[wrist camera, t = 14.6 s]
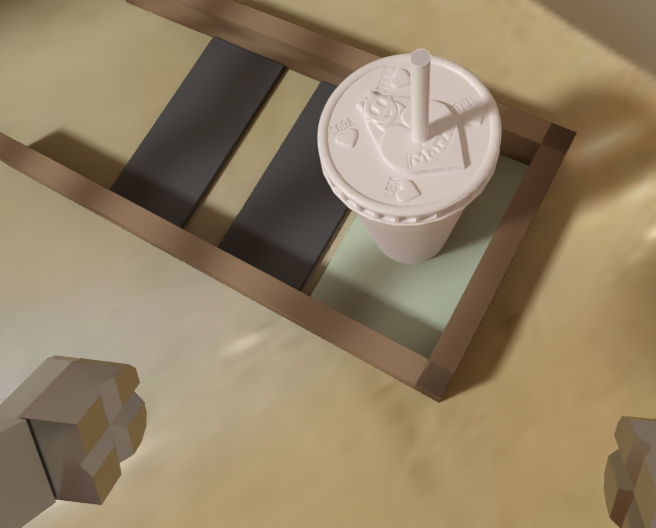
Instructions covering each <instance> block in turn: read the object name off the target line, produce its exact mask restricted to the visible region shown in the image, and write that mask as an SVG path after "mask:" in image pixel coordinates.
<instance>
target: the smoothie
mask: <svg viewBox="0 0 656 528" xmlns="http://www.w3.org/2000/svg"><path fill="white" fill-rule="evenodd" d="M501 135H502V127H501V118H500V114H499V110H498V107H497V105H496V102H495V100H494V98H493V96H492V94H491V93H490V91H489V90H488V88H487V87H486V86H485V85H484V83H483V82H482V81H481V80H480V79H479V78H478V77H477V76H476V75H474V74H473V73H472V72H471V71H469V70H468V69H466V68H465V67H463V66H461V65H460V64H458V63H456V62H453V61H451V60H449V59H446V58H442V57H439V56H435V55H430V53H429V52H428V51H427V50H425V49H417V50H415V51H413V52H412V53H408V54H398V55H393V56H388V57H385V58H381V59H378V60H376V61H373V62H371V63H369V64H367V65H365V66H363V67H361V68H359V69H358V70H356V71H355V72H353V73H352V74H351V75H349V76H348V77H347V78H346V79H345V80H344V81H343V82H342V83H341V84H340V85H339V86H338V87H337V88H336V89H335V91H334V92H333V93H332V95H331V96H330V98H329V99H328V101H327V103H326V105H325V107H324V109H323V112H322V114H321V118H320V121H319V126H318V135H317V136H318V151H319V156H320V161H321V165H322V170H323V174H324V176H325V178H326V180H327V182H328V183H329V185H330V187H331V189H332V191H333V192H334V194H335V195H336V196H337V197H338V198H339V199H340V200H341V201H342V202H343V203H344V204H345V205H346V206H347V207H348V208H350V209H351V210H353V211H355V212H357V214H358V215H359V217H360V218H361V220H362V221H363V223H364V224H365V226H366V228H367V229H368V231H369V232H370V234H371V235H372V237H373V238H374V240H375V241H376V243H377V245H378V246H379V248H380V249H381V250H382V252H383V253H384V254H386V255H387V256H388V257H389V258H391V259H393V260H395V261H397V262H401V263H406V264H416V263H421V262H424V261H427V260H429V259H431V258H432V257H434V256H435V255H436V254H437V253H438V252H439V251H440V250H441V249H442V248H443V246H444V244H445V243H446V241H447V239H448V237H449V235H450V234H451V232H452V230H453V228H454V226H455V224H456V223H457V221H458V219H459V217H460V215H461V214H462V212H463V210H464V208H465V207H466V206H467V205H468V204H469V203H471V202H472V201H473V200H474V199H475V198H476V197H477V196H478V195H479V194H481V193H482V191H483V189H484V188H485V186H486V185H487V183H488V181H489V180H490V178H491V177H492V175H493V174H494V171H495V167H496V164H497V160H498V157H499V153H500V143H501Z"/></svg>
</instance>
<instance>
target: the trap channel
mask: <svg viewBox="0 0 656 528" xmlns="http://www.w3.org/2000/svg"><path fill="white" fill-rule="evenodd" d="M126 2H127V3H130V4H132V5H135V6H137V7H140V8H142V9H145V10H147V11H149V12H152V13H154V14H157V15H159V16H162V17H164V18H166V19H169V20H171V21H174V22H176V23H179V24H181V25H184V26H186V27H188V28H191V29H193V30H196V31H198V32H201V33H203V34H206V35H208V36H210V37H213V38H212V40H211V41H210V43H209V44H208V46H207V47H206V49H205V50H204V51H203V53H202V54H201V56H200V57H199V59H198V60H197V62H196V63H195V65H194V66H193V68H192V69H191V71H190V72H189V74H188V75H187V77H186V78H185V79H184V81H183V82H182V84H181V85H180V87H179V88H178V90H177V91H176V93H175V94H174V96H173V97H172V99H171V100H170V102H169V103H168V104H167V106H166V107H165V109H164V110H163V112H162V113H161V115H160V116H159V118H158V119H157V121H156V122H155V124H154V125H153V127H152V128H151V130H150V131H149V132H148V134H147V135H146V137H145V138H144V140H143V141H142V143H141V144H140V146H139V147H138V149H137V150H136V152H135V153H134V155H133V156H132V157H131V159H130V160H129V162H128V163H127V165H126V166H125V168H124V169H123V171H122V172H121V174H120V175H119V177H118V178H117V180H116V181H115V182H114V184H113V185H112V187H111V188H110V190H108V189H106V188H104V187H103V186H101V185H99V184H97V183H95V182H93V181H91V180H89V179H87V178H86V177H84V176H82V175H80V174H78V173H76V172H74V171H72V170H71V169H69V168H67V167H65V166H63V165H61V164H59V163H57V162H55V161H54V160H52V159H50V158H48V157H46V156H44V155H42V154H40V153H39V152H37V151H35V150H33V149H31V148H29V147H27V146H25V145H23V144H22V143H20V142H18V141H16V140H14V139H12V138H10V137H8V136H7V135H5V134H3V133H1V132H0V160H1V161H3V162H4V163H6V164H7V165H9V166H10V167H12V168H14V169H16V170H18V171H19V172H21V173H23V174H25V175H27V176H29V177H30V178H32V179H34V180H36V181H38V182H39V183H41V184H43V185H45V186H47V187H49V188H50V189H52V190H54V191H56V192H58V193H59V194H61V195H63V196H65V197H67V198H69V199H70V200H72V201H74V202H76V203H78V204H79V205H81V206H83V207H85V208H87V209H88V210H90V211H92V212H94V213H96V214H98V215H99V216H101V217H103V218H105V219H107V220H108V221H110V222H112V223H114V224H116V225H118V226H119V227H121V228H123V229H125V230H127V231H128V232H130V233H132V234H134V235H136V236H138V237H139V238H141V239H143V240H145V241H147V242H148V243H150V244H152V245H154V246H156V247H158V248H159V249H161V250H163V251H165V252H167V253H168V254H170V255H172V256H174V257H176V258H177V259H179V260H181V261H183V262H185V263H187V264H188V265H190V266H192V267H194V268H196V269H197V270H199V271H201V272H203V273H205V274H207V275H208V276H210V277H212V278H214V279H216V280H217V281H219V282H221V283H223V284H225V285H227V286H228V287H230V288H232V289H234V290H236V291H237V292H239V293H241V294H243V295H245V296H247V297H248V298H250V299H252V300H254V301H256V302H257V303H259V304H261V305H263V306H265V307H267V308H268V309H270V310H272V311H274V312H276V313H277V314H279V315H281V316H283V317H285V318H286V319H288V320H290V321H292V322H294V323H296V324H297V325H299V326H301V327H303V328H305V329H306V330H308V331H310V332H312V333H314V334H316V335H317V336H319V337H321V338H323V339H325V340H326V341H328V342H330V343H332V344H334V345H336V346H337V347H339V348H341V349H343V350H345V351H346V352H348V353H350V354H352V355H354V356H356V357H357V358H359V359H361V360H363V361H365V362H366V363H368V364H370V365H372V366H374V367H375V368H377V369H379V370H381V371H383V372H385V373H386V374H388V375H390V376H392V377H394V378H395V379H397V380H399V381H401V382H403V383H405V384H406V385H408V386H410V387H412V388H414V389H415V390H417V391H419V392H421V393H423V394H425V395H426V396H428V397H430V398H432V399H434V400H435V401H437V402H440V401H441V399H442V397H443V395H444V393H445V391H446V389H447V387H448V385H449V383H450V381H451V379H452V377H453V375H454V373H455V371H456V369H457V367H458V365H459V363H460V361H461V359H462V357H463V355H464V353H465V351H466V349H467V347H468V345H469V343H470V342H471V340H472V338H473V336H474V334H475V332H476V330H477V328H478V326H479V324H480V322H481V320H482V318H483V316H484V314H485V312H486V310H487V308H488V306H489V304H490V302H491V300H492V298H493V296H494V294H495V292H496V290H497V288H498V286H499V284H500V282H501V280H502V279H503V277H504V275H505V273H506V271H507V269H508V267H509V265H510V263H511V261H512V259H513V257H514V255H515V253H516V251H517V249H518V247H519V245H520V243H521V241H522V239H523V237H524V235H525V233H526V231H527V229H528V227H529V225H530V223H531V221H532V219H533V217H534V216H535V214H536V212H537V210H538V208H539V206H540V204H541V202H542V200H543V198H544V196H545V194H546V192H547V190H548V188H549V186H550V184H551V182H552V180H553V178H554V176H555V174H556V172H557V170H558V168H559V166H560V164H561V162H562V160H563V158H564V156H565V154H566V153H567V151H568V149H569V147H570V145H571V143H572V141H573V139H574V137H575V135H576V133H577V132H574V131H571V130H569V129H566V128H564V127H561V126H558V125H556V124H553V123H551V122H548V121H545V120H543V119H540V118H538V117H535V116H532V115H530V114H527V113H525V112H522V111H519V110H517V109H514V108H512V107H509V106H506V105H504V104H501V103H498V102H496V101H495V102H496V105H497V107H498V110H499V114H500V118H501V127H502V135H501V143H500V153H499V157H498V160H497V164H496V167H495V171H494V174H493V175H492V177H491V178H490V180H489V181H488V183H487V185H486V186H485V188H484V189H483V191H482V193H481V194H479V195H478V196H477V197H476V198H475V199H474V200H473V201H472V202H471V203H469V204H468V205H467V206H466V207H465V208H464V210H463V212H462V214H461V215H460V217H459V219H458V221H457V223H456V224H455V226H454V228H453V230H452V232H451V234H450V235H449V237H448V239H447V241H446V243H445V244H444V246H443V248H442V249H441V250H440V251H439V252H438V253H437V254H436V255H435V256H434V257H432V258H431V259H429V260H427V261H424V262H421V263H416V264H406V263H401V262H397V261H395V260H393V259H391V258H389V257H388V256H387V255H386V254H384V253H383V252H382V250H381V249H380V248H379V246H378V245H377V243H376V241H375V240H374V238H373V237H372V235H371V234H370V232H369V231H368V229H367V228H366V226H365V224H364V223H363V221H362V220H361V218H360V217H359V215H357V216H356V218H355V220H354V222H353V223H352V225H351V227H350V229H349V230H348V232H347V234H346V235H345V237H344V239H343V241H342V242H341V244H340V246H339V248H338V249H337V251H336V253H335V255H334V256H333V258H332V260H331V261H330V263H329V265H328V267H327V268H326V270H325V272H324V274H323V275H322V277H321V279H320V281H319V282H318V284H317V286H316V287H315V289H314V291H313V293H312V294H311V296H308V295H306V294H304V293H302V292H300V290H301V288H302V287H303V285H304V283H305V281H306V280H307V278H308V276H309V275H310V273H311V271H312V269H313V268H314V266H315V264H316V263H317V261H318V259H319V257H320V256H321V254H322V252H323V251H324V249H325V247H326V245H327V244H328V242H329V240H330V239H331V237H332V235H333V233H334V232H335V230H336V228H337V226H338V225H339V223H340V221H341V220H342V218H343V216H344V214H345V213H346V211H347V209H348V207H347V206H346V205H345V204H344V203H343V202H342V201H341V200H340V199H339V198H338V197H337V196H336V195H335V194H334V192H333V191H332V189H331V187H330V185H329V183H328V182H327V180H326V178H325V176H324V174H323V170H322V165H321V161H320V156H319V151H318V136H317V135H318V126H319V121H320V118H321V114H322V112H323V109H324V107H325V105H326V103H327V101H328V99H329V98H330V96H331V95H332V93H333V92H334V91H335V89H336V88H337V87H338V86H339V85H340V84H341V83H342V82H343V81H344V80H345V79H346V78H347V77H348V76H349V75H351V74H352V73H353V72H355V71H356V70H358V69H359V68H361V67H363V66H365V65H367V64H369V63H371V62H373V61H376V60H378V59H381V57H379V56H376V55H373V54H371V53H368V52H366V51H363V50H360V49H358V48H355V47H353V46H350V45H347V44H345V43H342V42H340V41H337V40H334V39H332V38H329V37H326V36H324V35H321V34H319V33H316V32H313V31H311V30H308V29H306V28H303V27H300V26H298V25H295V24H293V23H290V22H287V21H285V20H282V19H280V18H277V17H274V16H272V15H269V14H267V13H264V12H261V11H259V10H256V9H254V8H251V7H248V6H246V5H243V4H240V3H238V2H235V1H233V0H126ZM285 67H286V68H288V69H291V70H293V71H296V72H298V73H301V74H303V75H306V76H308V77H310V78H313V79H315V80H318V81H320V84H319V86H318V87H317V89H316V90H315V92H314V94H313V95H312V97H311V98H310V100H309V102H308V103H307V105H306V106H305V108H304V110H303V111H302V113H301V115H300V116H299V118H298V119H297V121H296V123H295V124H294V126H293V127H292V129H291V131H290V132H289V134H288V135H287V137H286V139H285V140H284V142H283V143H282V145H281V147H280V148H279V150H278V151H277V153H276V155H275V156H274V158H273V159H272V161H271V163H270V164H269V166H268V167H267V169H266V171H265V172H264V174H263V176H262V177H261V179H260V180H259V182H258V184H257V185H256V187H255V188H254V190H253V192H252V193H251V195H250V196H249V198H248V200H247V201H246V203H245V204H244V206H243V208H242V209H241V211H240V212H239V214H238V216H237V217H236V219H235V220H234V222H233V224H232V225H231V227H230V228H229V230H228V232H227V233H226V235H225V237H224V238H223V240H222V241H221V243H220V245H219V246H218V248H217V247H215V246H214V245H212V244H210V243H208V242H206V241H204V240H202V239H200V238H199V237H197V236H195V235H193V234H191V233H189V232H187V231H185V230H183V227H184V226H185V224H186V223H187V221H188V220H189V218H190V216H191V215H192V213H193V212H194V210H195V209H196V207H197V206H198V204H199V202H200V201H201V199H202V198H203V196H204V195H205V193H206V191H207V190H208V188H209V187H210V185H211V184H212V182H213V181H214V179H215V177H216V176H217V174H218V173H219V171H220V170H221V168H222V167H223V165H224V163H225V162H226V160H227V159H228V157H229V156H230V154H231V152H232V151H233V149H234V148H235V146H236V145H237V143H238V142H239V140H240V138H241V137H242V135H243V134H244V132H245V131H246V129H247V128H248V126H249V124H250V123H251V121H252V120H253V118H254V117H255V115H256V113H257V112H258V110H259V109H260V107H261V106H262V104H263V103H264V101H265V99H266V98H267V96H268V95H269V93H270V92H271V90H272V89H273V87H274V85H275V84H276V82H277V81H278V79H279V78H280V76H281V74H282V73H283V71H284V70H285Z"/></svg>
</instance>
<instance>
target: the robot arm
mask: <svg viewBox="0 0 656 528" xmlns="http://www.w3.org/2000/svg"><path fill="white" fill-rule="evenodd" d="M139 383H140V381H139V378H138V374H137V371H136V368H135V367H133V366H131V365H129V364H122V363H114V362H106V361H99V360H91V359H83V358H80V359H78V358H71V357H64V356H53V357H50V358H47V359H46V360H45V361H44V362H43V363H42V364H41V365H40V366H39V367H38V368H37V369H36V370H35V371H34V372H33V373H32V374H31V375H30V376H29V377H28V378H27V379H26V380H25V381H24V382H23V383H22V384H21V385H20V386H19V387H18V388H17V389H16V390H15V391H14V392H13V393H12V394H11V395H10V396H9V397H8V398H7V399H6V400H5V401H4V402H3V403H2V404H1V405H0V528H21V527H23V526H24V525H25V524H27V523H28V522H29V521H31V520H32V519H33V518H35V517H36V516H38V515H39V514H40V513H42V512H43V511H44V510H46V509H47V508H49V507H50V506H51V505H53V504H54V503H55V502H56V501H55V500H64V501H72V502H80V503H89V504H97V505H102V504H103V502H104V501H105V499H106V497H107V496H108V494H109V493H110V491H111V490H112V488H113V486H114V485H115V483H116V482H117V480H118V479H119V477H120V476H121V468H120V462H122V461H124V460H125V459H127V458H129V457H130V456H132V455H134V453H135V452H136V450H137V448H138V447H139V445H140V443H141V442H142V439H143V435H144V432H145V428H146V418H147V412H146V408H145V403H144V401H143V400H142V399H141V398H140V397H139V396H138V395H137V394H136V393H135V392H134V391H135V389H136V388H137V386H138V385H139ZM614 435H615V438H616V442H617V445H618V448H619V449H618V450H616V451H615V452H613V453H612V454H610V455H609V456H608V460H607V464H606V468H605V475H604V493H605V500H606V506H607V509H608V513H609V517H610V519H611V520H612V521H614V522H615V523H616V524H617V525H618V526H619V527H620V528H656V419H650V418H639V417H629V416H622V418H621V419H620V420H619V422H618V424H617V428H616V431H615V434H614Z"/></svg>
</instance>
